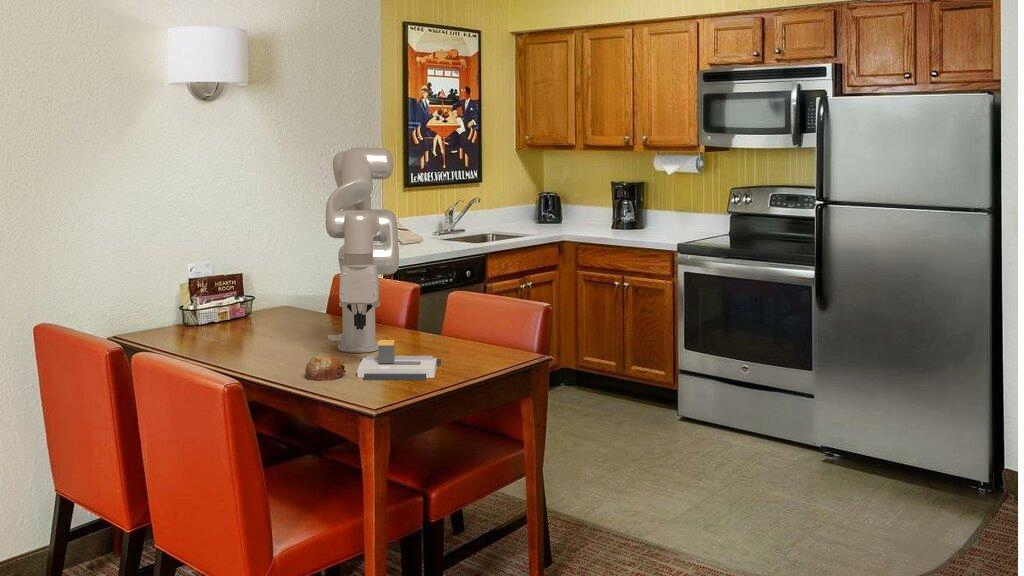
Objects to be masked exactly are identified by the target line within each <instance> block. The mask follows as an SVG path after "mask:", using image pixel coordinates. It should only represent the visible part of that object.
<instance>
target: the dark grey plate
mask: <svg viewBox="0 0 1024 576" xmlns="http://www.w3.org/2000/svg"><path fill="white" fill-rule="evenodd" d="M362 360H363V358H361V359H360V362H361V361H362ZM441 365H442V359H441V358H437V366H441ZM363 380H364V381H427V378H426V374H369V373H365V374H364V377H363Z"/></svg>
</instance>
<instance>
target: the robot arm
mask: <svg viewBox="0 0 1024 576" xmlns="http://www.w3.org/2000/svg"><path fill="white" fill-rule="evenodd" d="M332 171H333V176H334V180H335V183H336V184H335V185H336V186H337V188H336V189H335V190H334V191H333V192H332V193H331V194H330V196H329V197H328V199H327V202H326V204H325V205H326V206H325V230H326V232H327V235H328V236H329V237H331V238H333V239H343V240H344V243H343V245H342V246H340V247H339V249H338V253H337V254H338V255H337V258H338V265H339V270H340V271H339V272H340V274H339V288H338V289H339V290H338V291H339V292H338V293H339V294H338V296H339V297H338V298H339V304H338V305H339V307H341V308H342V309H341V310H342V332H341V333H338V335H337V334H328V336H327V341H328V342H330V343H338V344H337V350H339V351H340V352H344V353H353V354H357V353H358V354H360V353H362V354H363V353H370V352H375V351H378V342H379V341H376V308H378V307H380V306H381V301H380V282H379V275H392V274H395V273H396V272H397V271H398V270H399V264H400V253H399V247H400V246H399V233H398V231H399V230H398V229H399V228H398V221H397V220H398V219H397V216H396V214H395V213H394V212H393V211H392V210H391V209H375V208H373V209H372V197H371V195H372V193H373V189H374V186H373V180H388V179H389V178H390V177H391V176H392V175H393V171H394V158H393V155H392V153H391V151H390V150H389V149H388V148H385V147H351V148H348V149H347V150H345V151H341V152H338V153H336V154H335V155H334V156H333V159H332Z"/></svg>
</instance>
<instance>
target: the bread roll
mask: <svg viewBox="0 0 1024 576" xmlns="http://www.w3.org/2000/svg"><path fill="white" fill-rule="evenodd" d="M345 368H346V366H345V364H344V362H343V361H342V360H341V359H340V358H338V357H336V356H334V355H332V354H329V353H323V352H321V353H318V354H316V355H314V356H312V358H310V360H309V361H308V362H307V364H306V366H305V370H304V372H305V374H304V375H305V377H306V379H307V380H309V381H314V382H315V381H316V382H325V381H326V382H328V381H335V380H339V379H341V378H343V376H344V375H345V373H346V372H347V370H346V369H345Z"/></svg>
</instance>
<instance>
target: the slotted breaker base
mask: <svg viewBox="0 0 1024 576" xmlns="http://www.w3.org/2000/svg"><path fill="white" fill-rule="evenodd" d="M362 359H363V360H362V361H361V360H360V362H359V365H358V367H357V378H364V374H365V373H369V374H426V379H429V378H433V379H434V378H435V376H436V372H437V367H438V365H437V359H438V358H437V357H434V356H433V355H395V361H394V363H378V355H366V356H365V357H363V358H362Z"/></svg>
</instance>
